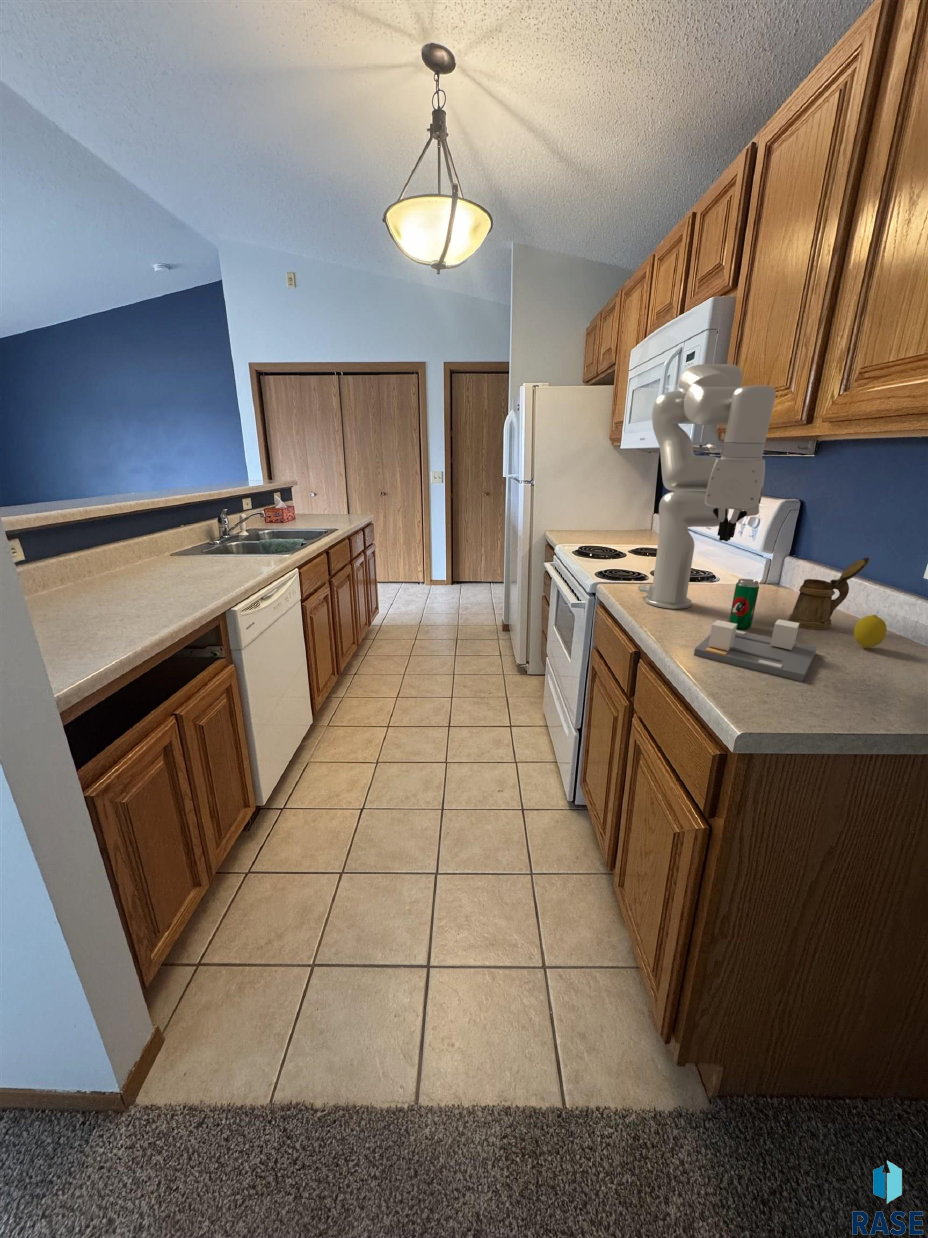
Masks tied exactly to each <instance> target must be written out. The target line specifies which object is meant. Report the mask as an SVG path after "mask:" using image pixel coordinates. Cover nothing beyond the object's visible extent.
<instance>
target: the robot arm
mask: <svg viewBox="0 0 928 1238" xmlns="http://www.w3.org/2000/svg"><path fill="white" fill-rule="evenodd" d="M739 367H740V366H738V365H736V364H732V363H731V364H730V363H724V364H723V363H720V364H718V363H715V364H713V363H711V364H710V363H703V364H696V365H693V366H690V367H688V368H687V369H685V371H683V372H682V374H681V376H680V378H679V380H678V390H674V391H673V390H672V391H667V392H664V393H662V394H660V395H659V396H658V397H656V399H655V401H654V404H653V405H652V406H653V407H652V410H651V411H652V413H651V423H652V429H653V433H654V436H655V438H656V441H657V444H658V447H659V453H660V454H659V455H660V463H661V464H660V465H661V477H662V484H663V486H664V488H665V489H667V490H669V491H670V492H668V493H666V494H664V495H663V496H662V498H660V501H659V504H658V520H659V521H658V523H659V525H658V527H659V528H658V529H659V530H658V541H657V548H656V556H655V564H654V571H653V579H652V584H650V585H647V584H644V583H643V584H642V583H639V585H638V589H637V590H639V592H640V593H646V594H647V595H646V596H645V597H644V598H645V599H644V600H645V602H646V603H647V604H649V605H651V606H653V607H658V608H662V609H663V608H664V609H673V610H674V609H675V610H676V609H677V610H678V609H679V610H681V609H687V608H690V607H691V606H692V604H693V603H692V601H693V600H692V599H690V598H689V597H688V592H689V591H688V590H689V584H690V577H691V571H692V566H693V565H692V564H693V559H694V551H695V540H694V538H693V536H692V535H691V533H690V532H689V530H688V528H699V527H700V528H712V527H713V528H716V527H718V529H717V537H719V538H718V541H720V542H721V541H724V542H729V541H730V540H731V538H734V536H735V533H736V527H737V522H739V521H740V520H742V519H744V518H745V517H753V516H757V515H759V514H760V504H761V502H762V497H763V491H764V484H765V478H766V477H765V476H766V475H765V474H766V460H765V459H763V456H764V451H765V445H766V442H767V437H768V432H769V427H770V424H771V419H772V413H773V410H774V404H775V399H776V389H775V388H774V387H773V386H771V385H744V386H743V373H742V370H741V368H739ZM681 424H682V425H699V426H726V429H725V434H724V439H723V442H722V444H717V445H716V446H715V448H714V452H716V453H719V454H720V457H717V456H712V455H696V454H695V453H694V448H693V441H692V438H691V436H690V435H689V434H688V432H686V431H685V430H684V429H683V428H682V427H681V426H680V425H681ZM730 510H733V512H732V515H731V517H730V519H729V518H728V517H729V513H730Z"/></svg>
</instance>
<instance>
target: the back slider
mask: <svg viewBox="0 0 928 1238" xmlns="http://www.w3.org/2000/svg"><path fill="white" fill-rule="evenodd" d="M799 624H800V623H796V622H791V621H788V620H785V619H777V620H776V622H775V623H774V627H773V630H772V633H771V638H772V639H771V643H770V645H771V646H775V647H780V648H785V649H789V650H792V648H793V646H794V645H795V642H796V640H797V637H798V636H797V635H798V631H799V629H800V627H799Z"/></svg>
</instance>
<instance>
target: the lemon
mask: <svg viewBox="0 0 928 1238" xmlns="http://www.w3.org/2000/svg"><path fill="white" fill-rule="evenodd" d="M886 635H887V625H886V622H885V620H883V618H881V617H880V616H878V615H876V614H871V615H866V616H864V617H862V618H860V619H859V620H858V621H857V623H856V624H855V626H854V628H853V637H854V638H853V639H854V640H855V641H856V643H857V644H859V645H861V647H862V648H863V649H869V648H872V647H875V646H878V645H880V644H881V643H882V642H884V640H885V638H886Z"/></svg>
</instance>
